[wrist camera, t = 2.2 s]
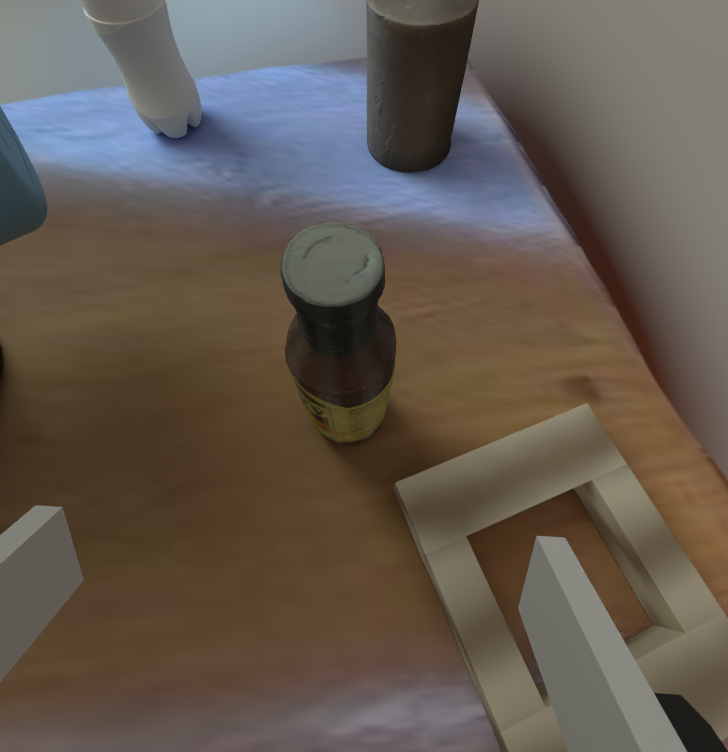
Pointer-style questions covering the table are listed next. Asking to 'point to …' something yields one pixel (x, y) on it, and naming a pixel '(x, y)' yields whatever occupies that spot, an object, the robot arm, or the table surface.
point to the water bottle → (148, 62)
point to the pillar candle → (415, 78)
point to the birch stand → (624, 540)
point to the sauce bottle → (339, 330)
